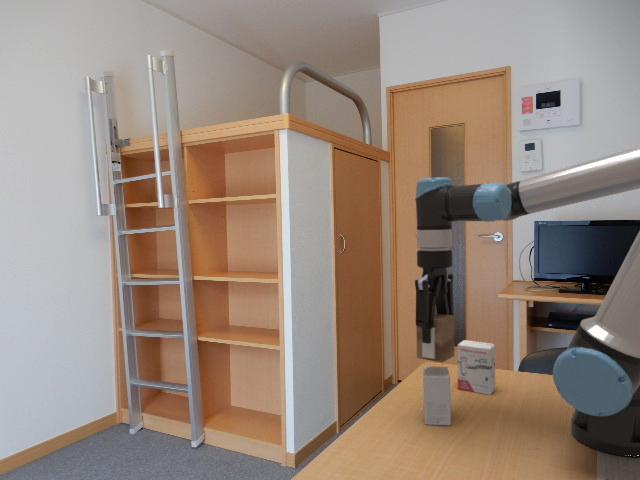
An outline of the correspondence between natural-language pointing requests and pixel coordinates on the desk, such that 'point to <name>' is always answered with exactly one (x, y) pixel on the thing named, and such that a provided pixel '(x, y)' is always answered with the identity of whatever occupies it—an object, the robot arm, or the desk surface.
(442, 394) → the small box
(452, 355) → the walnut block
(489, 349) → the ink box
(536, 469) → the desk surface
